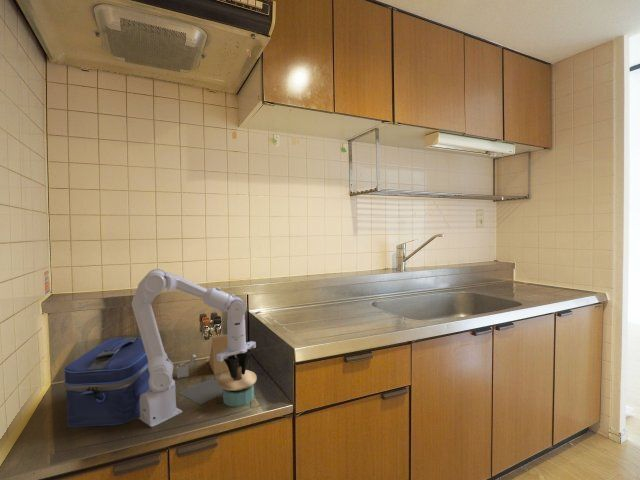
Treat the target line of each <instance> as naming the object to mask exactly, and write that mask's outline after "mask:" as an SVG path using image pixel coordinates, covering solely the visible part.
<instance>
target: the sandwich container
mask: <svg viewBox="0 0 640 480" xmlns="http://www.w3.org/2000/svg"><path fill="white" fill-rule="evenodd" d="M227 348H228V335H227V334H222V335H218V336H213V337H212V341H211V348H210V354H209V357H208V358H209V359H208V362H209V363H208V364H209V366H210V368H211V371H212V373H213V375H218V374H224V373H226V372H229V369H228V366H227V364H226V363H225V361H224V360H223V361H221V362H220V361H217V354H219V353H221V352H222V351H224V350H225V349H227Z"/></svg>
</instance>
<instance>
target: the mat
mask: <svg viewBox="0 0 640 480" xmlns="http://www.w3.org/2000/svg"><path fill="white" fill-rule="evenodd" d="M178 394H179V395H180V396H183V397H184V398H186V399H188V400H190V401H192V402H194V403H196V404H198V405H200V406H202V405H203V404H205V403H208V402H210V401H211V400H213V399H215V398H217V397H220V396H223V389H222V388H220V387H219V386H218V380H216V379H213V378H210V379H206V380H205V381H202V382H201V383H198V384H195V385H193V386H191V387H189V388H186V389H185V390H183V391H180V392H178Z"/></svg>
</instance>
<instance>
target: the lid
mask: <svg viewBox="0 0 640 480" xmlns="http://www.w3.org/2000/svg"><path fill="white" fill-rule="evenodd" d="M257 377H258V376H257V374H256V373H255V372H254V371H251V370H248V369H246V371H245V374H244V375H243V374H242V365H237V378H235V379H234V378H232V377H231V375H230V371H228V372H223V373H221V375H220V376H218V378H217V381H218V386H219V387H220V388H222V389H225V390H232V391H235V390H242V389H246V388H249V387H251V386H252V385H254V386H255V384H256V383H257V379H258V378H257Z"/></svg>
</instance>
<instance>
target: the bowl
mask: <svg viewBox="0 0 640 480" xmlns="http://www.w3.org/2000/svg"><path fill="white" fill-rule="evenodd" d="M254 386H255V384H254V385H252V386H251V387H249V388H246V389H242V390H235V391H232V390H225V389H223V394H222V401H223V404H224V405H226V406H228V407H242V406H245V405H248V404H249V403H251V402H252V401H253V399H254V398H255V387H254Z"/></svg>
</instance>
